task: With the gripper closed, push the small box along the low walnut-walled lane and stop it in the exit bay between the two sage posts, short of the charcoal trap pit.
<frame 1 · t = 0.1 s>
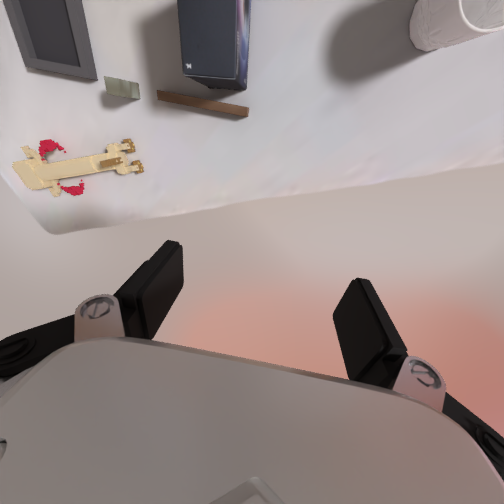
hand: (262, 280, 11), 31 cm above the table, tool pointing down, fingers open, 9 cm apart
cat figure: (85, 164, 42), on the table
small box: (229, 43, 29), on the table
trap pit: (48, 8, 29), on the table
lane: (207, 38, 29), on the table
white cup: (438, 15, 26), on the table
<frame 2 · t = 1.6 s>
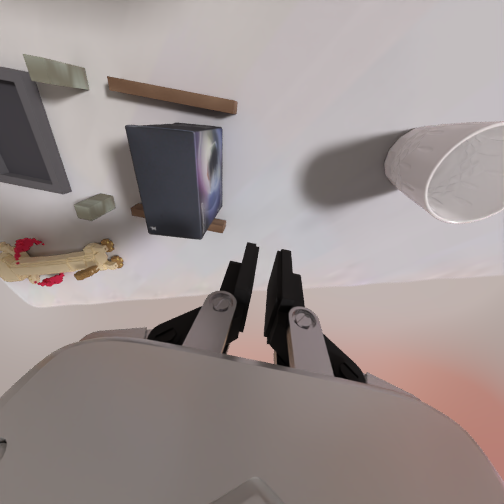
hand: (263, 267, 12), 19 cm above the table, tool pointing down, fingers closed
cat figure: (64, 254, 41), on the table
small box: (202, 168, 29), on the table
trap pit: (18, 133, 29), on the table
lane: (180, 164, 28), on the table
white cup: (413, 158, 25), on the table
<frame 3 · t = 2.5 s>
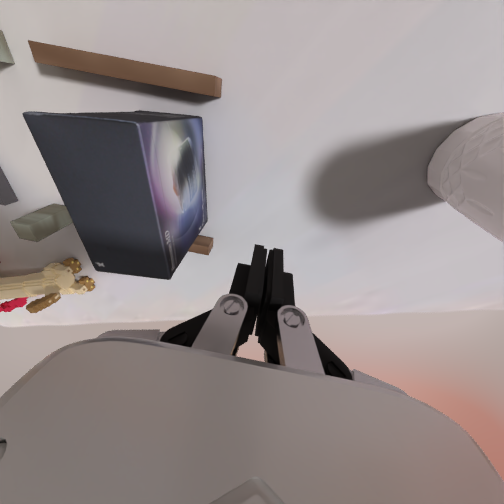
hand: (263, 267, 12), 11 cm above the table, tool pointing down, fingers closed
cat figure: (26, 272, 34), on the table
small box: (179, 173, 22), on the table
lane: (150, 168, 21), on the table
white cup: (470, 159, 18), on the table
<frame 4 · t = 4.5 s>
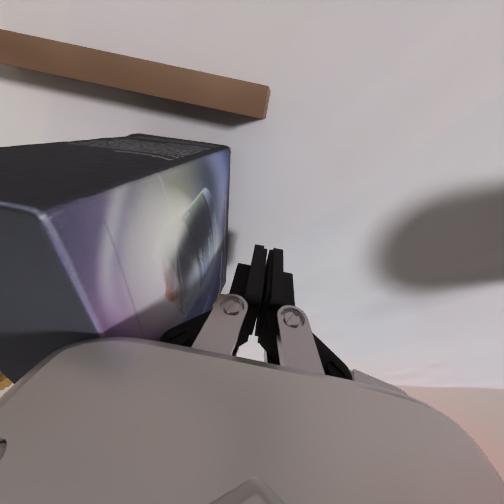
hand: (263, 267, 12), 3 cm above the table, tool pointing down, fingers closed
small box: (191, 219, 15), on the table
lane: (151, 210, 15), on the table
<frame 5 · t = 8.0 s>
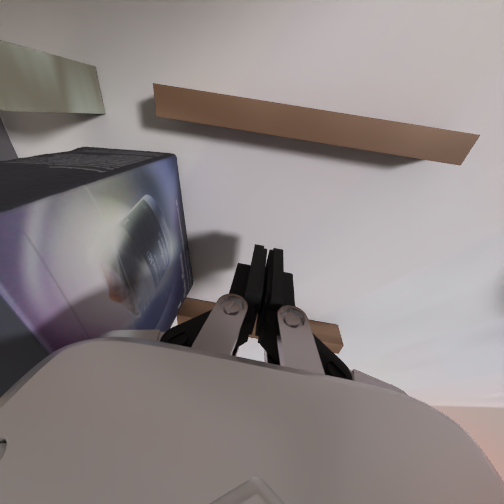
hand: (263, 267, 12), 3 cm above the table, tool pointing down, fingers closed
small box: (151, 226, 16), on the table
lane: (276, 246, 15), on the table
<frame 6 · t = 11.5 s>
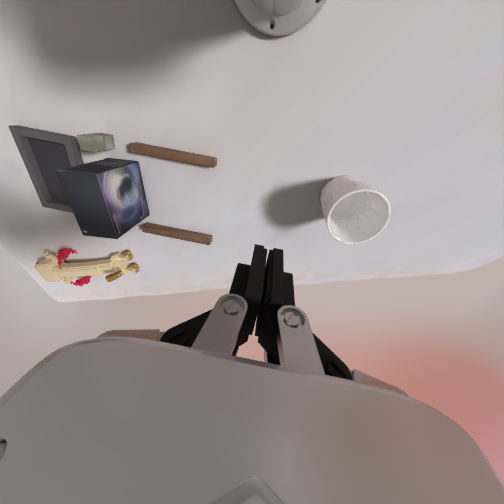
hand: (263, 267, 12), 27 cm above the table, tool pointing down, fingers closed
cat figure: (92, 260, 52), on the table
small box: (131, 188, 40), on the table
trap pit: (61, 173, 40), on the table
lane: (178, 196, 40), on the table
white cup: (339, 195, 36), on the table
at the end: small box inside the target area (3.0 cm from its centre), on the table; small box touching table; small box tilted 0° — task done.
